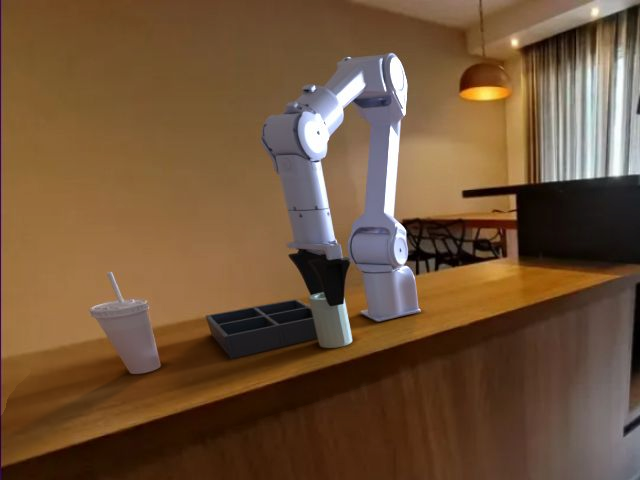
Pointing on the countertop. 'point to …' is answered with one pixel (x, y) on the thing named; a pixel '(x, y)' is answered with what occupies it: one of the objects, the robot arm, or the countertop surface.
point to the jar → (330, 322)
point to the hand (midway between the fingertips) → (327, 300)
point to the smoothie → (129, 330)
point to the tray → (262, 327)
